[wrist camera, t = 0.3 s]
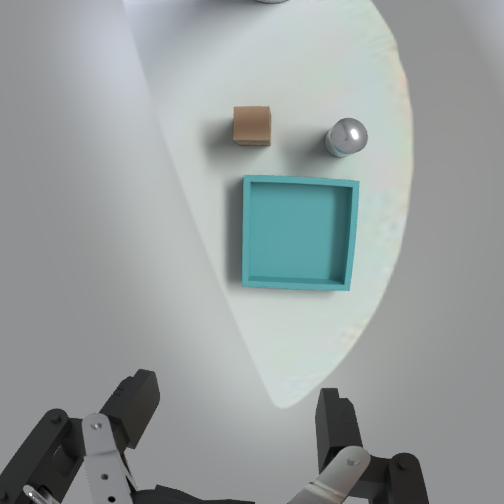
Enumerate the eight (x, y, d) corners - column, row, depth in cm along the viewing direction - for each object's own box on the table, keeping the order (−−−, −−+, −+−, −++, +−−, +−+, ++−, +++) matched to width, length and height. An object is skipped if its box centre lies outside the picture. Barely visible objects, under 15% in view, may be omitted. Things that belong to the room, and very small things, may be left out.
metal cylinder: (325, 126, 33) (332, 116, 28) (354, 129, 33) (367, 120, 27) (324, 155, 34) (332, 151, 29) (354, 158, 34) (367, 154, 28)
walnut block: (240, 116, 34) (233, 106, 29) (271, 116, 34) (269, 106, 29) (239, 145, 35) (233, 139, 30) (270, 145, 35) (268, 140, 30)
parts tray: (246, 175, 36) (243, 174, 33) (354, 181, 35) (359, 181, 32) (244, 279, 39) (241, 286, 37) (345, 283, 38) (349, 290, 36)
